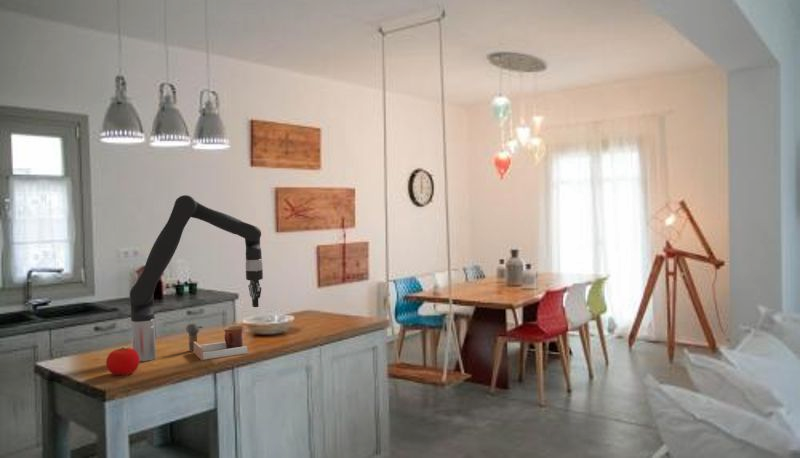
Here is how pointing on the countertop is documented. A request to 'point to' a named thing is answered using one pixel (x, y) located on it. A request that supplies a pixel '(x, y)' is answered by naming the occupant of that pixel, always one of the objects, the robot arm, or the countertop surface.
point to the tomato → (122, 361)
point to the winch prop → (192, 334)
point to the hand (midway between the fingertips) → (255, 306)
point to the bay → (203, 355)
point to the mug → (233, 336)
